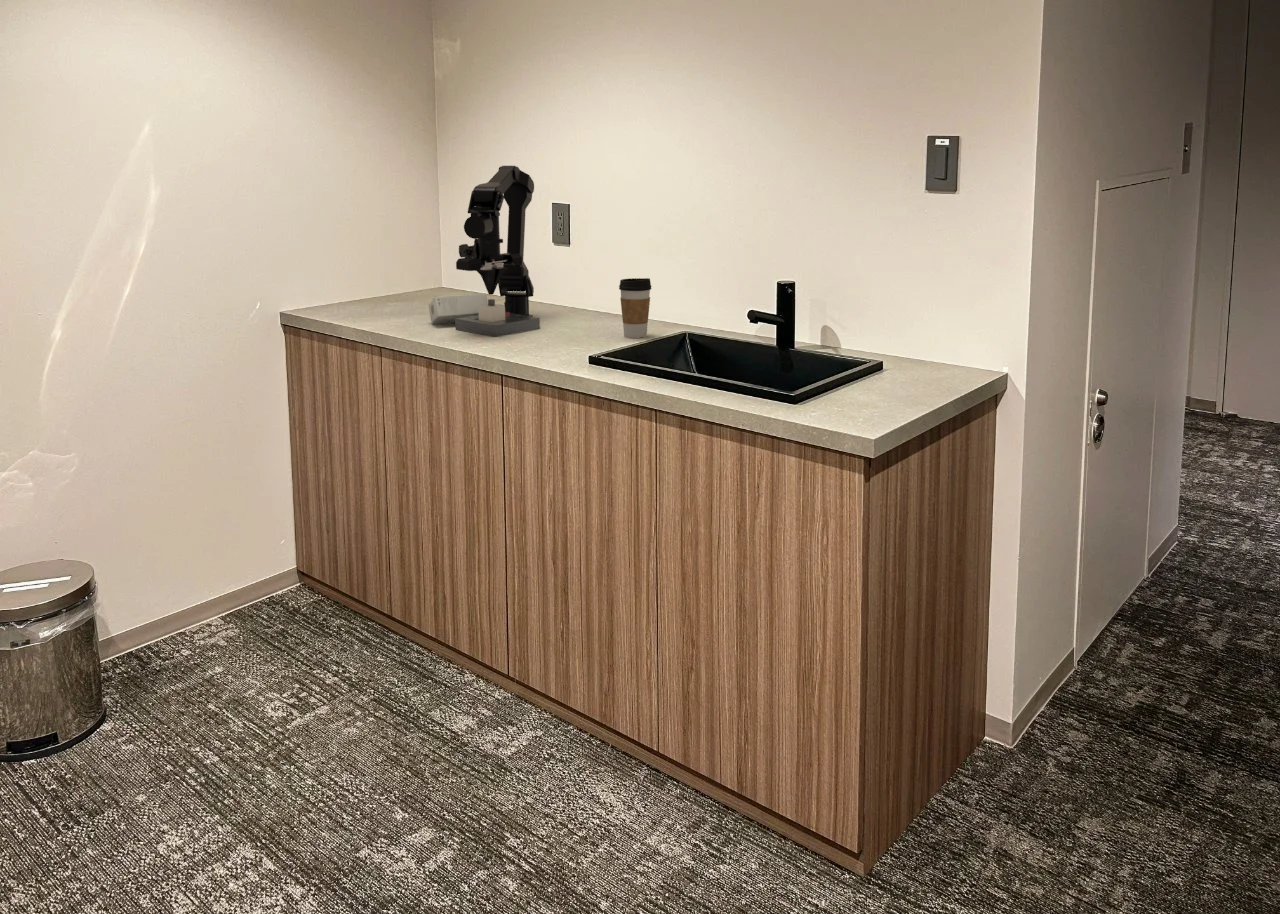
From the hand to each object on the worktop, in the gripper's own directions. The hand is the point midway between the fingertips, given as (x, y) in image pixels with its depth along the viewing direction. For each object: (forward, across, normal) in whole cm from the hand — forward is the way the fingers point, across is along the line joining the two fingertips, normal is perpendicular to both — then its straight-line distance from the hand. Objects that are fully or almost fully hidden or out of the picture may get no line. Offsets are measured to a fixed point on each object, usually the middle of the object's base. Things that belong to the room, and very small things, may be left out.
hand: (490, 294), depth 309 cm
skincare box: (+5, +6, -18) cm, 20 cm away
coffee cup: (+10, -18, +35) cm, 41 cm away
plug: (+9, 0, 0) cm, 9 cm away
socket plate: (+10, -2, 0) cm, 10 cm away
